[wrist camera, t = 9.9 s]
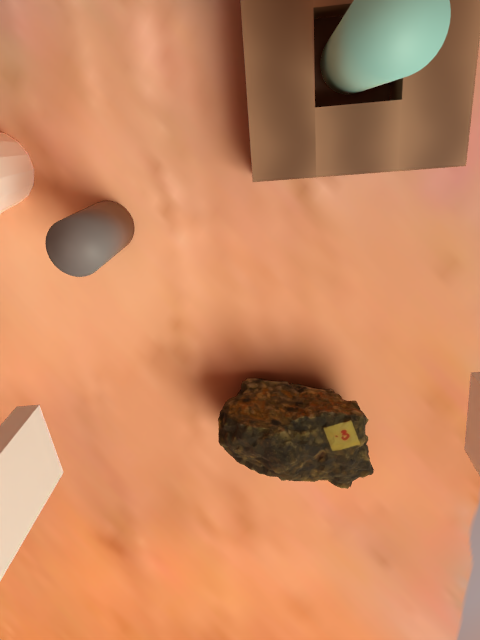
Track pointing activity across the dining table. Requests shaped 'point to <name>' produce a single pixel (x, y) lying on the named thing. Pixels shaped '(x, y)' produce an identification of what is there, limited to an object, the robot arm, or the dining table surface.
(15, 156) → the shot glass
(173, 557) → the dining table surface
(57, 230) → the short dowel
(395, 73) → the long dowel
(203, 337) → the dining table surface
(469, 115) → the hole block
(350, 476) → the rock
